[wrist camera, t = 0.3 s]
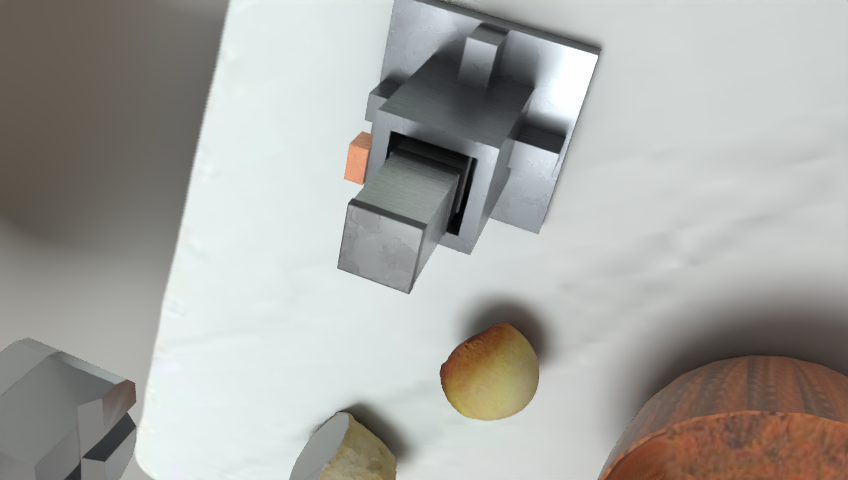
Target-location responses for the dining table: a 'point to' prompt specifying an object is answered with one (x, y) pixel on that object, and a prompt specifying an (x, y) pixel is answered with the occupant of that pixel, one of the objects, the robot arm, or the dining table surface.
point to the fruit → (491, 374)
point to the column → (404, 212)
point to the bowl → (740, 425)
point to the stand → (477, 108)
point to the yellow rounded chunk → (344, 453)
